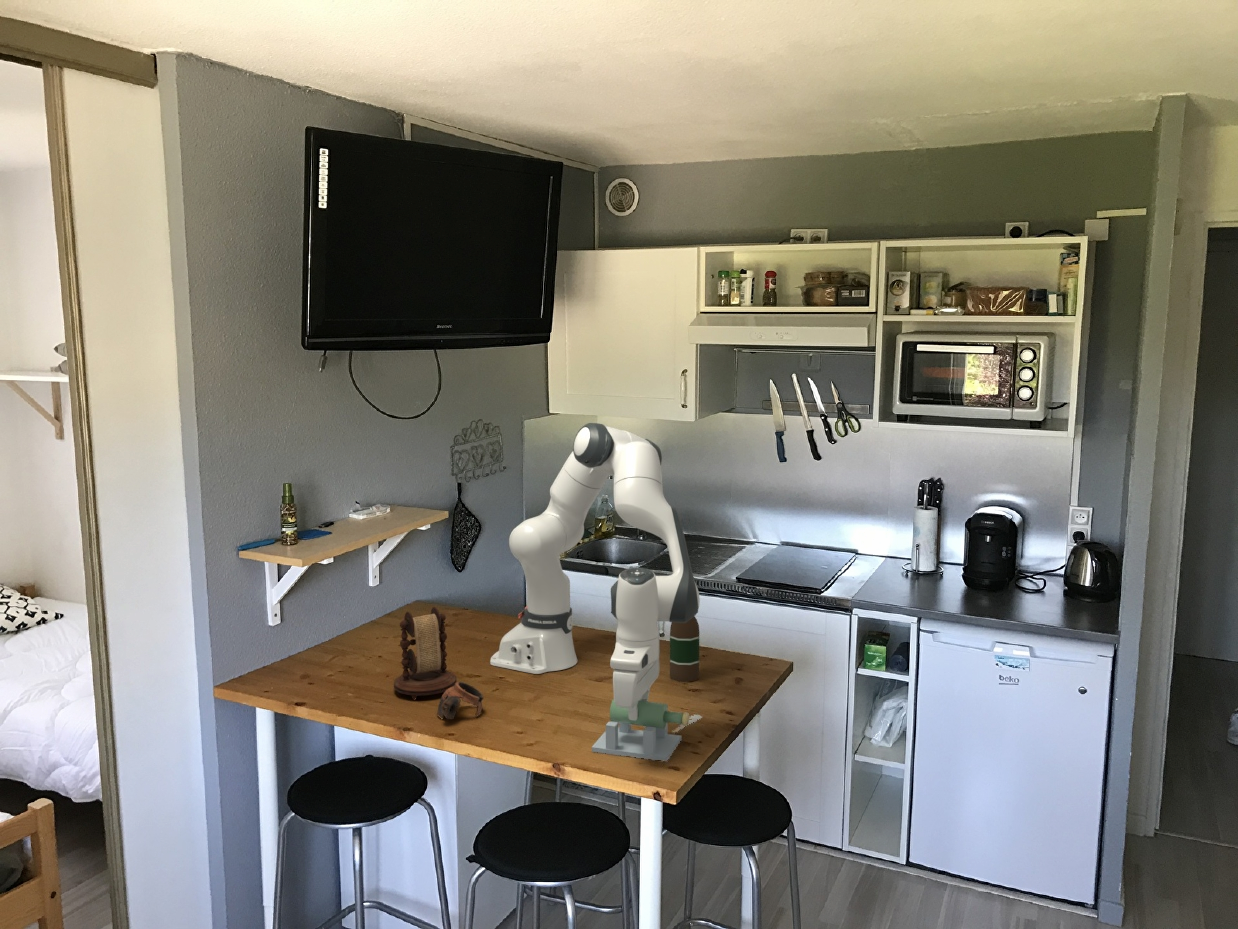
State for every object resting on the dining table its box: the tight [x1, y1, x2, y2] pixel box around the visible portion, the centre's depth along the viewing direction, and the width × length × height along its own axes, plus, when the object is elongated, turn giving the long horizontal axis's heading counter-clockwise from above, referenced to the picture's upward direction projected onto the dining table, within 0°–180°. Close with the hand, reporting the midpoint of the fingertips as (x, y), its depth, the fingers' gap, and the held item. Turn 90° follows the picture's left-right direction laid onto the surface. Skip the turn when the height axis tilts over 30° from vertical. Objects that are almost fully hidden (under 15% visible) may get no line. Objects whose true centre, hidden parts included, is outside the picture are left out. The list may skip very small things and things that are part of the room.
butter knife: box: [672, 714, 703, 733], centre depth 211 cm, size 1×24×3 cm
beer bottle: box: [669, 615, 700, 683], centre depth 243 cm, size 8×8×24 cm
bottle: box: [609, 698, 690, 729], centre depth 203 cm, size 16×5×5 cm, turn 72°
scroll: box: [393, 606, 458, 700], centre depth 236 cm, size 15×15×20 cm
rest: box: [591, 721, 682, 762], centre depth 205 cm, size 16×11×6 cm
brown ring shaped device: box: [436, 681, 484, 720], centre depth 221 cm, size 12×10×8 cm
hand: (638, 713), depth 204 cm, fingers closed on bottle, 5 cm apart
